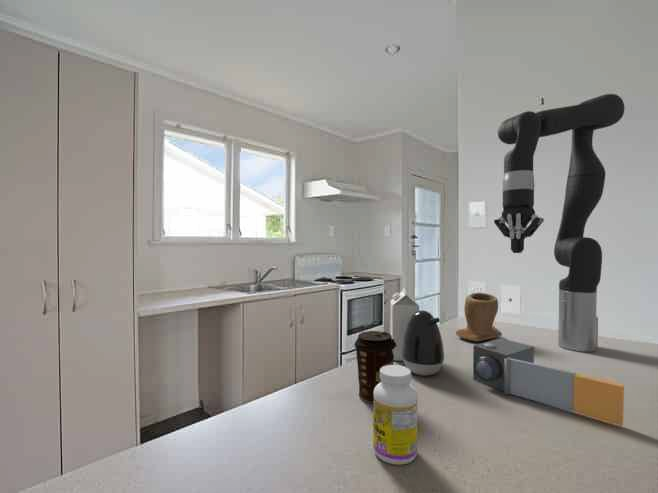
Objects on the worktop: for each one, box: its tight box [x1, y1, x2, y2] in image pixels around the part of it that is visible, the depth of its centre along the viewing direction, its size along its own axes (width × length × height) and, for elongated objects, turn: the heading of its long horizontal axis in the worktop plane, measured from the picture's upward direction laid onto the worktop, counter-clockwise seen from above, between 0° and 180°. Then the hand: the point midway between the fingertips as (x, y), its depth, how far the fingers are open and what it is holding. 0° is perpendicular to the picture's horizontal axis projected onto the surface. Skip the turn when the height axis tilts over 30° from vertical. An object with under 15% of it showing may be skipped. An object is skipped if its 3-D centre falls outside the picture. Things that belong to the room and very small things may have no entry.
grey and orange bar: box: [503, 358, 625, 427], centre depth 66 cm, size 19×2×7 cm, turn 46°
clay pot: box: [455, 292, 503, 342], centre depth 113 cm, size 15×12×15 cm
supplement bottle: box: [372, 364, 419, 466], centre depth 53 cm, size 7×7×13 cm
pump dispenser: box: [402, 310, 445, 377], centre depth 85 cm, size 10×10×15 cm
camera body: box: [472, 337, 535, 392], centre depth 79 cm, size 14×8×8 cm, turn 122°
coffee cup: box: [354, 330, 397, 404], centre depth 72 cm, size 9×8×13 cm
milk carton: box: [389, 286, 420, 362], centre depth 96 cm, size 7×7×19 cm
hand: (517, 252), depth 95 cm, fingers closed
